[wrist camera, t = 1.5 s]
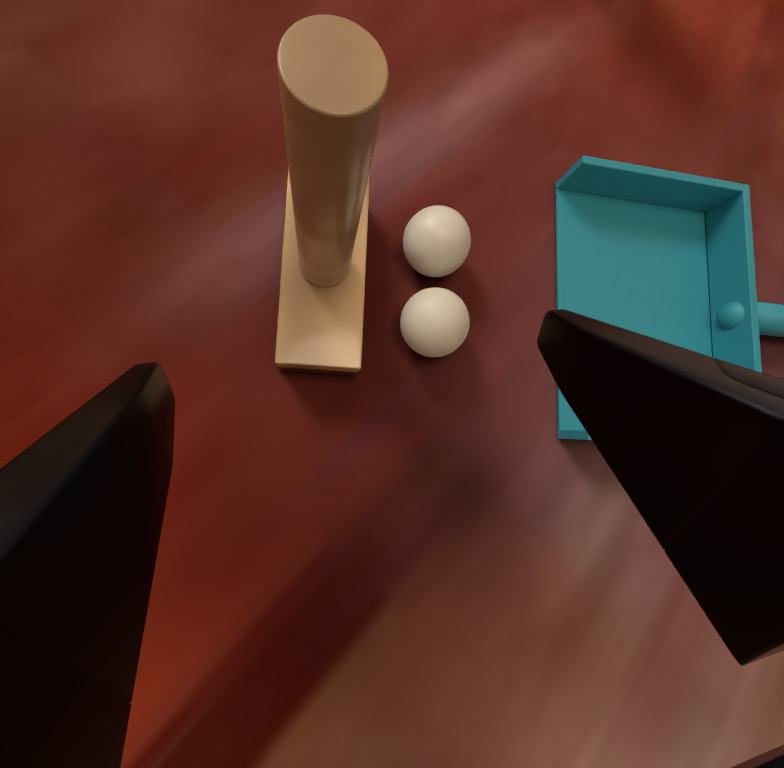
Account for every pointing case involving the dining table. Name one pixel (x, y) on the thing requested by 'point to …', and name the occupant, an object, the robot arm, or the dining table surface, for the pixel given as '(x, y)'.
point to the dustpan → (659, 262)
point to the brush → (326, 190)
